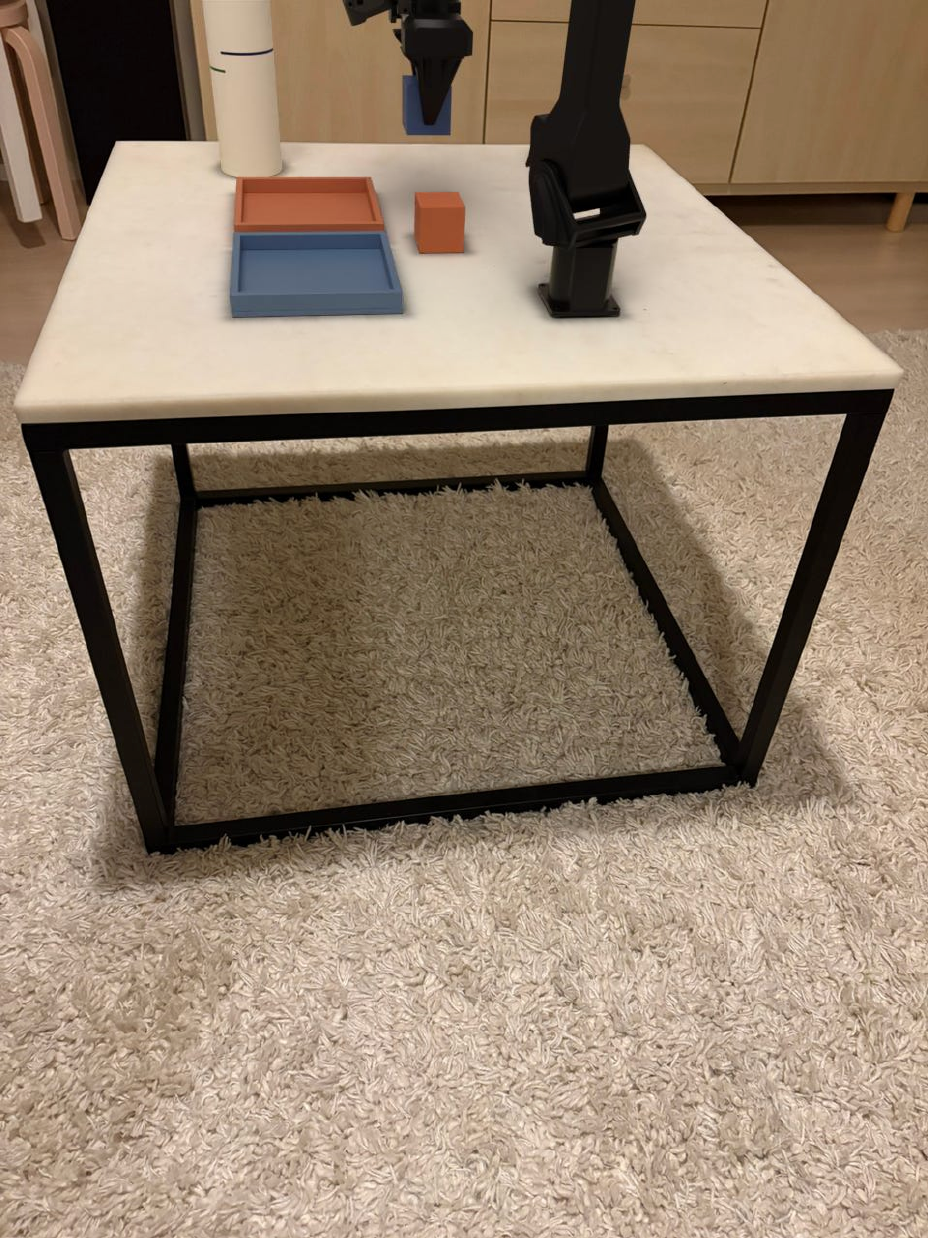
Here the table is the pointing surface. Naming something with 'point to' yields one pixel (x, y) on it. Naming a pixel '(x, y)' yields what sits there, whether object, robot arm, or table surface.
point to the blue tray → (313, 274)
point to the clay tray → (306, 204)
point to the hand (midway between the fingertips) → (426, 118)
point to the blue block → (413, 111)
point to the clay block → (439, 222)
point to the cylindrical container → (244, 86)
